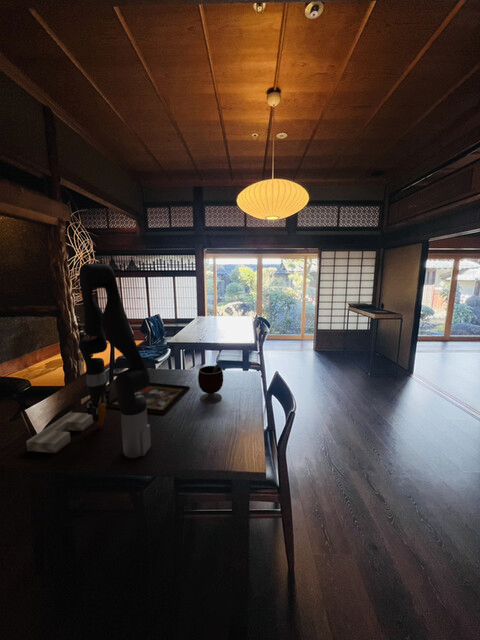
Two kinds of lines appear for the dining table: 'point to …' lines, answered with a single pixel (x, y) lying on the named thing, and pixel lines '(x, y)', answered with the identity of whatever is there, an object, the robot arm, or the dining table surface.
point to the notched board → (59, 433)
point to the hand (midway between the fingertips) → (100, 417)
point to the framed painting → (157, 397)
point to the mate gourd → (210, 383)
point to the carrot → (101, 413)
